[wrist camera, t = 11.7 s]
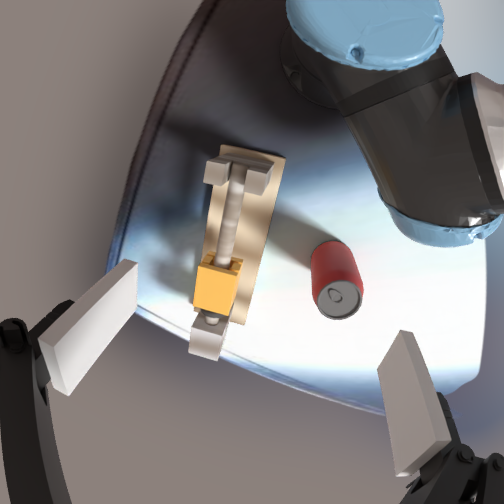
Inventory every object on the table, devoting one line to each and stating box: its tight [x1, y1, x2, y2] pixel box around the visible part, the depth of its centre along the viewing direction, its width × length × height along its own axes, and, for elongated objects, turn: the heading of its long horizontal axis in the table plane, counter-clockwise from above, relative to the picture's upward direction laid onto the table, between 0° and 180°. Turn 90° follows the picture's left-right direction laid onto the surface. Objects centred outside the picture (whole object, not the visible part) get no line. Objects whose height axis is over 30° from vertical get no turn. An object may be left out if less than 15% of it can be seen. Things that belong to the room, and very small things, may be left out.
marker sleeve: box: [193, 251, 244, 316], centre depth 40 cm, size 6×5×5 cm
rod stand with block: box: [188, 144, 286, 361], centre depth 42 cm, size 28×9×12 cm, turn 168°
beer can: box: [311, 241, 364, 320], centre depth 41 cm, size 7×7×12 cm
